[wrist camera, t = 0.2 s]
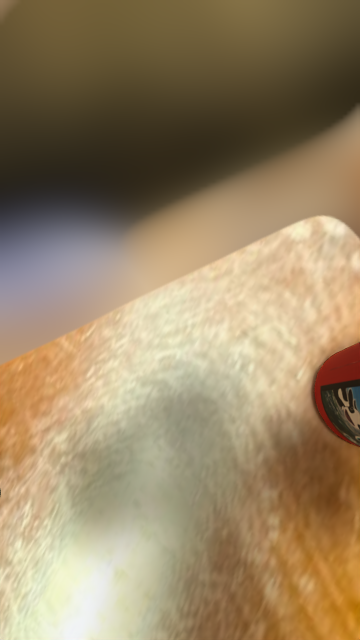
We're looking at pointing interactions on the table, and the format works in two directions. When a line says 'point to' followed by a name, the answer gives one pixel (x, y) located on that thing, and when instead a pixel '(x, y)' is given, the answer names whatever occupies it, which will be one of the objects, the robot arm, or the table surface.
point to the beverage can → (341, 393)
